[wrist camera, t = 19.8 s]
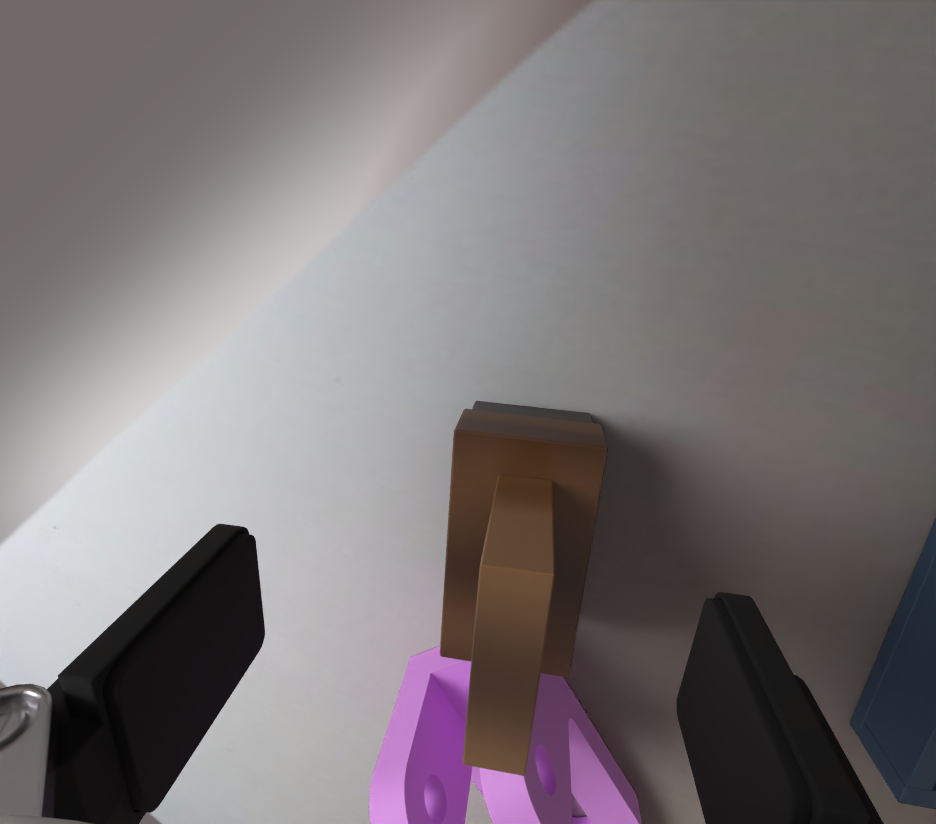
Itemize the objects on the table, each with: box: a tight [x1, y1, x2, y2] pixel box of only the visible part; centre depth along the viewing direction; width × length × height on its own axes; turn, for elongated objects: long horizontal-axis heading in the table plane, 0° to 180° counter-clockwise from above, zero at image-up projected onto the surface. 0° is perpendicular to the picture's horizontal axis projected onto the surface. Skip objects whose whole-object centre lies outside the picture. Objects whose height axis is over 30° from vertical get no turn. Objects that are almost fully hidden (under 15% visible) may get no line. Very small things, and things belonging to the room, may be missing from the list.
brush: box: [440, 401, 608, 776], centre depth 16 cm, size 8×4×8 cm, turn 176°
